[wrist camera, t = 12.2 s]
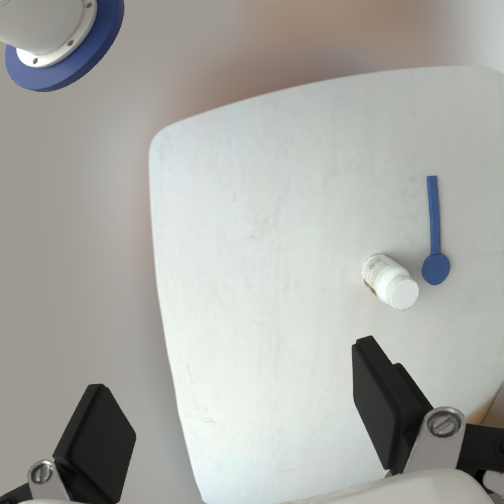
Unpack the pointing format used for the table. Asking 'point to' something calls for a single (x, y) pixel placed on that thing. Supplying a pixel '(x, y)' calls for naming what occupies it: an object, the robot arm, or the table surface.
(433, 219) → the spoon
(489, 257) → the table surface
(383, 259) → the pill bottle
